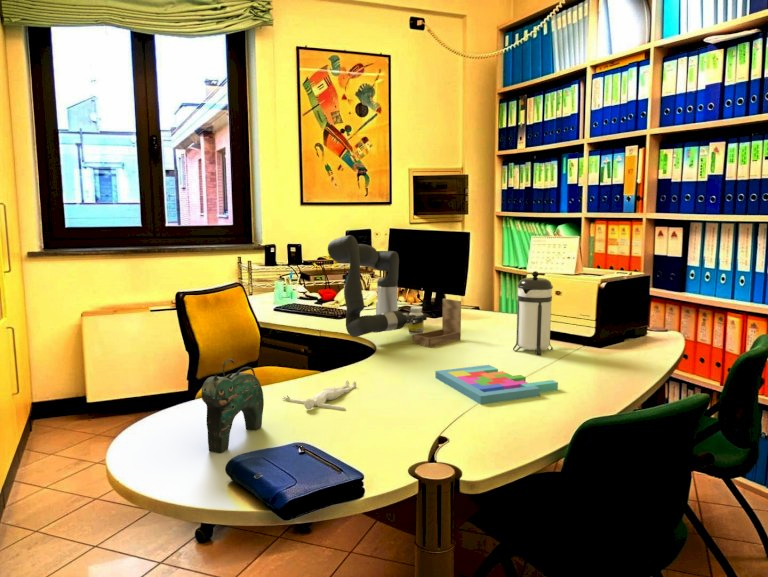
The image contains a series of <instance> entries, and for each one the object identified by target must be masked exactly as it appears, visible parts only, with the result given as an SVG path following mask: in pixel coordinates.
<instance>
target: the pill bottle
mask: <svg viewBox="0 0 768 577" xmlns="http://www.w3.org/2000/svg"><path fill="white" fill-rule="evenodd" d="M422 310H423V308H422V306H411V307H410V312H408V313H409V315H415V316H419V315H424V313H423V312H422ZM412 318H413V316H412ZM424 321H425V320H424ZM424 321H423V323H419V324H415V325H413V324H408V333H409V334H410V335H415V334H420V333H424Z"/></svg>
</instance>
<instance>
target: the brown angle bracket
mask: <svg viewBox="0 0 768 577" xmlns="http://www.w3.org/2000/svg"><path fill="white" fill-rule="evenodd" d="M441 317H442V321H441V322H442V324H441V325H442V326H441V327H442V328H441V329H435V330H431V331H426V332H425V331H424V332H423V333H420V334H415V335H414V334H412V344H414V343H415V345H418V344H419V345H420V346H423V345H424V346H423V347H427V346H428V348H432V347H436V345H437V346H441V345H445V343H446V344H450V343H454V341H455V342H460V341H461V340H462V339H461V336H462V335H461V334H462V331H461V330H462V329H461V327H462V323H461V322H462V300H457V299H456V300H455V299H451V298H442V316H441ZM431 346H432V347H431Z"/></svg>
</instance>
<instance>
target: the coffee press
mask: <svg viewBox="0 0 768 577" xmlns="http://www.w3.org/2000/svg"><path fill="white" fill-rule="evenodd" d="M531 276H532V277H526V278H525V277H524V278H522V279H520V280H519V282H518V284H517V285H516V288H517V304H516V305H517V306H516V308H517V311H516V338H515V339H516V340H515V341H516V342H515V345H514V346H513V347H512V348H513V349H512V350H513V351H514V352H518V351H519V350H520V349H523V350H529V351H535V353H536V356H542V351H544V350H548V351H550V350H552V351H553V349H554V347H553V346H552V345H551V321H552V320H551V318H552V301H553V295H552V290H553V288H554V285H552V282H551V281H550V280H549V279H547V278H544V277H538V276H539V272H538V271H536V270H535V271H533V272H532V274H531ZM516 347H517V349H516ZM549 347H551V348H550V349H549Z"/></svg>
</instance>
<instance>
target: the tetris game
mask: <svg viewBox="0 0 768 577" xmlns="http://www.w3.org/2000/svg"><path fill="white" fill-rule="evenodd" d="M434 372H435V373H434V374H435V379H436V380H439V381H440V382H441V383H443V384H445V385H446V386H448V387H450V388H452V389H454V390H455V391H457V392H459V393H460V394H462V395H463V396H465V397H467V398H469V399H470V400H472V401H473V402H476V403H477V404H479V405H485V404H493V403H499V402H508V401H513V400H514V401H515V399H516V400H521V399H522V398H523V399H529V397H530V398H536V396H537V397H540V396H541V393H545V392H546V393H547V392H554V390H555V391H558V390H559V382H557V381H555V380H553V379H550V380H542V381H535V382H527V381H526V378H527V377H526V376H523V375H521V374H517V375H515V374H514V375H512V374H509V373H508V372H506V371H504V370H502V371H499V369H498V368H496V367H494V366H492V365H490V364H487V365H485V364H484V365H476V366H468V367H461V368H460V367H459V368H449V369H441V370H435V371H434Z"/></svg>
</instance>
